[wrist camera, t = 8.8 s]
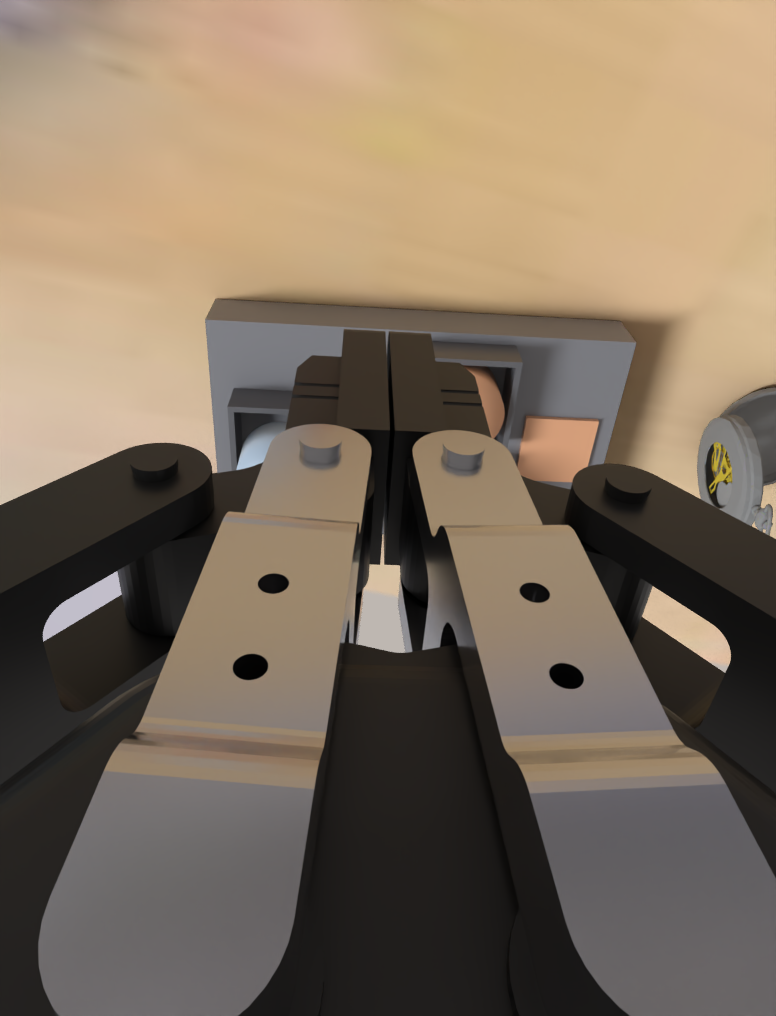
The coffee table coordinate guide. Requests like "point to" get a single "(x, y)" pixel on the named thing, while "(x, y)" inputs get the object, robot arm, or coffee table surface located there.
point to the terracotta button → (489, 397)
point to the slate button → (259, 444)
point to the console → (456, 338)
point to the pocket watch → (740, 458)
